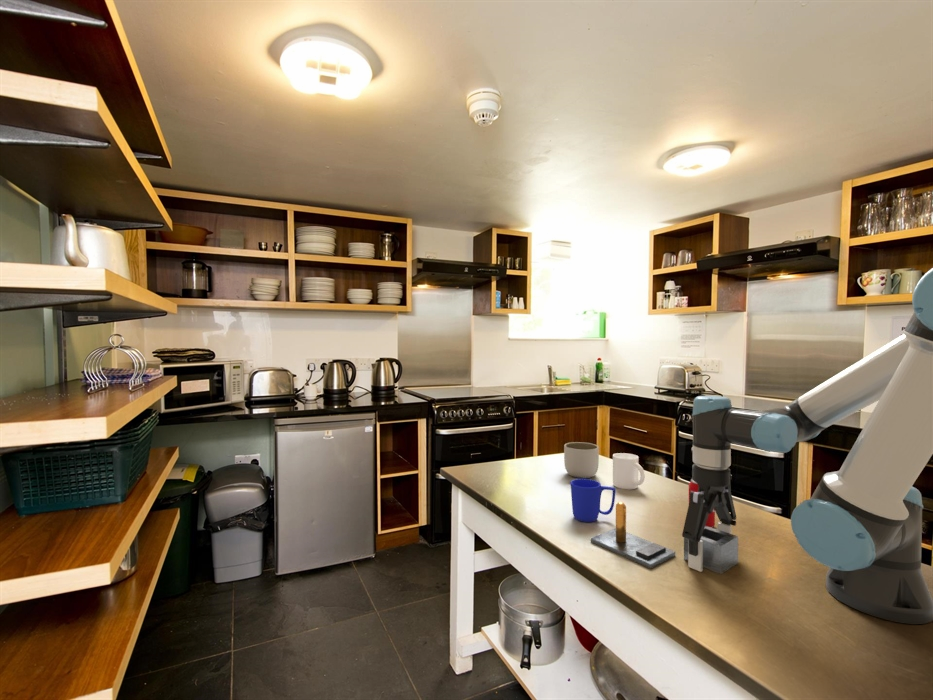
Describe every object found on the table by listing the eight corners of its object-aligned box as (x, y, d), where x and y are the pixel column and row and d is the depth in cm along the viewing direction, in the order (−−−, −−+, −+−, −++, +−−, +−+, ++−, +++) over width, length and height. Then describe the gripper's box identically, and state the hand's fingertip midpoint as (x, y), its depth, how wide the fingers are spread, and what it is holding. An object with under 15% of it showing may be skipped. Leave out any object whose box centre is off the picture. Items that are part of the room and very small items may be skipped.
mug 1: (617, 526, 119) (617, 489, 119) (570, 523, 121) (570, 486, 121) (613, 515, 127) (613, 480, 127) (570, 512, 129) (570, 477, 129)
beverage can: (717, 525, 120) (717, 480, 119) (711, 532, 115) (711, 486, 115) (692, 519, 124) (692, 476, 124) (685, 525, 119) (685, 481, 119)
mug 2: (652, 490, 147) (652, 459, 147) (634, 494, 144) (634, 463, 144) (625, 480, 158) (625, 452, 158) (607, 484, 154) (607, 454, 154)
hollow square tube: (738, 563, 99) (738, 536, 99) (720, 574, 95) (721, 546, 94) (701, 549, 106) (701, 524, 106) (683, 559, 101) (684, 533, 101)
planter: (557, 475, 165) (557, 445, 165) (576, 468, 174) (576, 440, 174) (586, 482, 156) (586, 451, 156) (605, 475, 165) (605, 445, 165)
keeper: (675, 555, 103) (675, 511, 102) (650, 568, 97) (650, 522, 97) (615, 532, 116) (616, 492, 115) (590, 542, 110) (590, 501, 110)
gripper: (719, 453, 110) (719, 539, 110) (664, 470, 96) (664, 569, 96) (753, 460, 104) (752, 551, 104) (700, 479, 90) (699, 585, 90)
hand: (710, 560), depth 100 cm, fingers open, 12 cm apart
